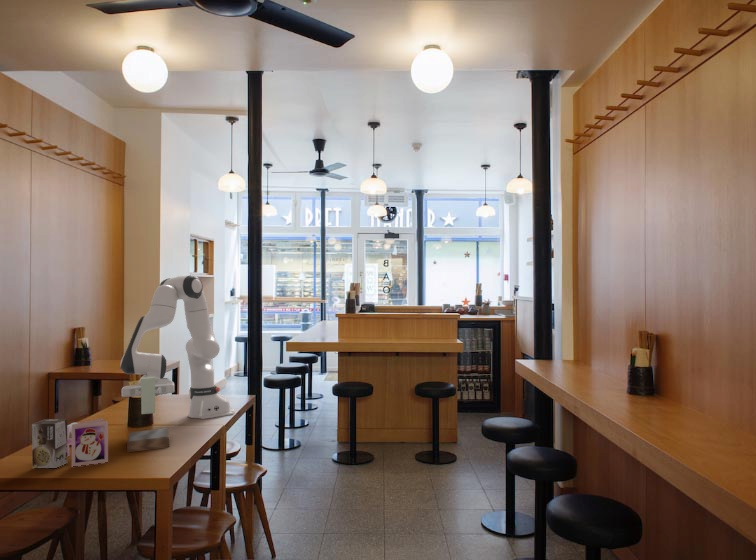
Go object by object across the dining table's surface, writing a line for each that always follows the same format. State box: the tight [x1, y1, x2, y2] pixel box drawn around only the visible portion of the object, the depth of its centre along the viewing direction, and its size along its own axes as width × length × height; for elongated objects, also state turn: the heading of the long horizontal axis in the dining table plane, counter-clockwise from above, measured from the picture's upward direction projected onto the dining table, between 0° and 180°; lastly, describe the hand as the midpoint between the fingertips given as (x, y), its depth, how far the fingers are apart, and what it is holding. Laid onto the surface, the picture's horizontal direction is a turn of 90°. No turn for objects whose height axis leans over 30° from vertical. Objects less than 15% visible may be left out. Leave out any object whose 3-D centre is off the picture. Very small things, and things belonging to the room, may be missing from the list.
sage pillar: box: [140, 376, 156, 415], centre depth 207 cm, size 5×5×14 cm
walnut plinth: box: [126, 427, 170, 453], centre depth 206 cm, size 15×15×4 cm
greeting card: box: [71, 417, 109, 468], centre depth 185 cm, size 11×7×15 cm, turn 114°
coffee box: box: [31, 418, 68, 469], centre depth 182 cm, size 9×6×16 cm
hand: (148, 392), depth 206 cm, fingers closed on sage pillar, 5 cm apart
